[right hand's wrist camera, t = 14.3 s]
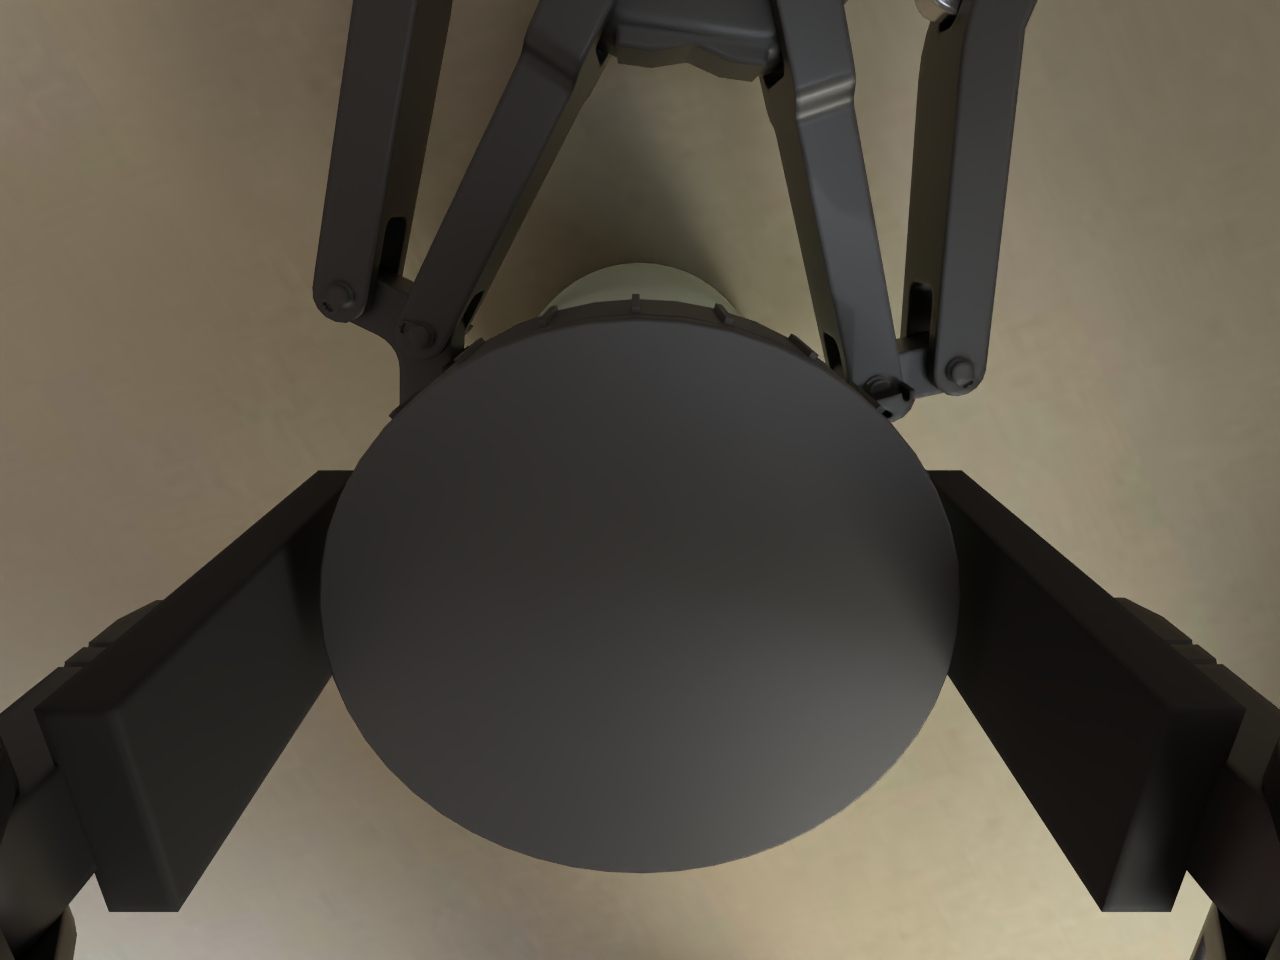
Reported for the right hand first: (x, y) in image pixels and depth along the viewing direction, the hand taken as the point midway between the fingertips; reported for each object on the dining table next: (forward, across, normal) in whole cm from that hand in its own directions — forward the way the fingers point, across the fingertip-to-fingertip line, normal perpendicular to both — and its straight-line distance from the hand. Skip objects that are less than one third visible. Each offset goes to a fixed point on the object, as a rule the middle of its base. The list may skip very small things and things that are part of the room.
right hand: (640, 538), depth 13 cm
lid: (-3, 0, 0) cm, 3 cm away
